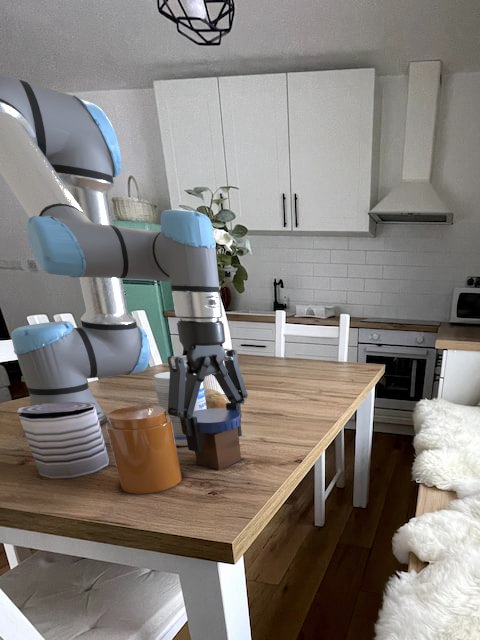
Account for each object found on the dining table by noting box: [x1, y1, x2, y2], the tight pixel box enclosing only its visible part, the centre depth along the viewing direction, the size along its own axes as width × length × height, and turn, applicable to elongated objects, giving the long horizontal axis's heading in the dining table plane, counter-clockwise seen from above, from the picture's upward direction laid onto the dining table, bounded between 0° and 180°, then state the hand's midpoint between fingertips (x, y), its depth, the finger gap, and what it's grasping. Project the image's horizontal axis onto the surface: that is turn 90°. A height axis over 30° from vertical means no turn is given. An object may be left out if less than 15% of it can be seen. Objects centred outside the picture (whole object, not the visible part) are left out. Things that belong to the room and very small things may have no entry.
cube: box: [194, 427, 242, 471], centre depth 77 cm, size 6×6×7 cm
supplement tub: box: [153, 371, 207, 447], centre depth 86 cm, size 10×10×15 cm
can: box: [15, 402, 110, 480], centre depth 72 cm, size 11×11×12 cm
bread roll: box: [204, 388, 229, 409], centre depth 110 cm, size 10×10×8 cm
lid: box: [192, 408, 242, 433], centre depth 75 cm, size 10×10×2 cm
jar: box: [105, 405, 183, 495], centre depth 67 cm, size 10×10×13 cm
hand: (216, 442), depth 77 cm, fingers closed on lid, 10 cm apart
